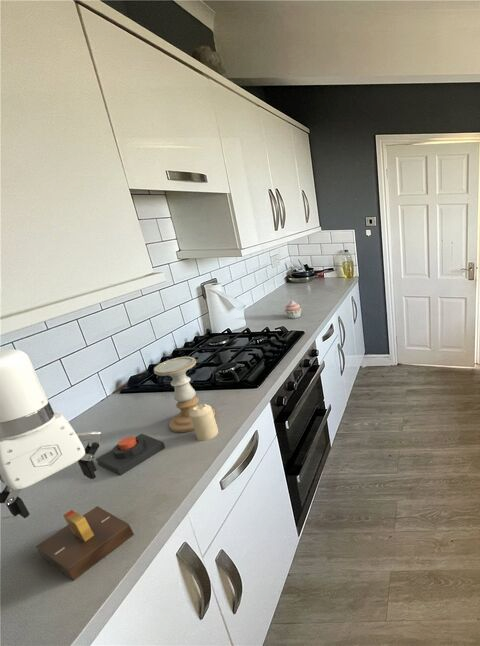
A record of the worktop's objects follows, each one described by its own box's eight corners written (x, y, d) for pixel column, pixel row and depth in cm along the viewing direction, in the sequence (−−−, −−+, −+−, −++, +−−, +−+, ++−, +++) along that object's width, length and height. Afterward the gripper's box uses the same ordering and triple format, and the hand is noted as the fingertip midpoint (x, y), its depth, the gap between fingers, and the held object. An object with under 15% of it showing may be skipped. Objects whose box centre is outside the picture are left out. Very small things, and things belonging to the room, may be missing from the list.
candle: (209, 427, 106) (200, 399, 103) (222, 430, 105) (214, 402, 101) (192, 438, 102) (183, 410, 98) (206, 442, 100) (197, 413, 96)
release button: (124, 451, 92) (122, 446, 91) (117, 448, 93) (114, 443, 93) (140, 443, 95) (137, 438, 94) (132, 440, 96) (130, 434, 96)
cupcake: (286, 315, 202) (283, 299, 199) (303, 313, 205) (300, 297, 202) (285, 321, 194) (282, 304, 191) (302, 318, 197) (300, 302, 193)
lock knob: (94, 535, 70) (84, 516, 68) (85, 542, 69) (74, 522, 67) (82, 527, 72) (72, 508, 70) (73, 533, 70) (62, 514, 68)
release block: (120, 476, 89) (115, 463, 87) (98, 465, 93) (93, 453, 91) (165, 448, 98) (161, 436, 97) (144, 439, 102) (139, 428, 100)
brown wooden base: (73, 580, 65) (66, 569, 64) (42, 556, 69) (35, 545, 68) (134, 534, 73) (129, 523, 72) (102, 515, 78) (97, 505, 77)
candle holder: (182, 411, 115) (163, 357, 107) (222, 407, 116) (206, 353, 109) (161, 435, 103) (139, 376, 96) (206, 430, 105) (187, 371, 98)
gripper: (-49, 458, 51) (1, 540, 57) (95, 398, 66) (123, 469, 72) (-68, 444, 54) (-18, 524, 60) (74, 390, 69) (102, 458, 75)
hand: (59, 494), depth 66 cm, fingers open, 9 cm apart
